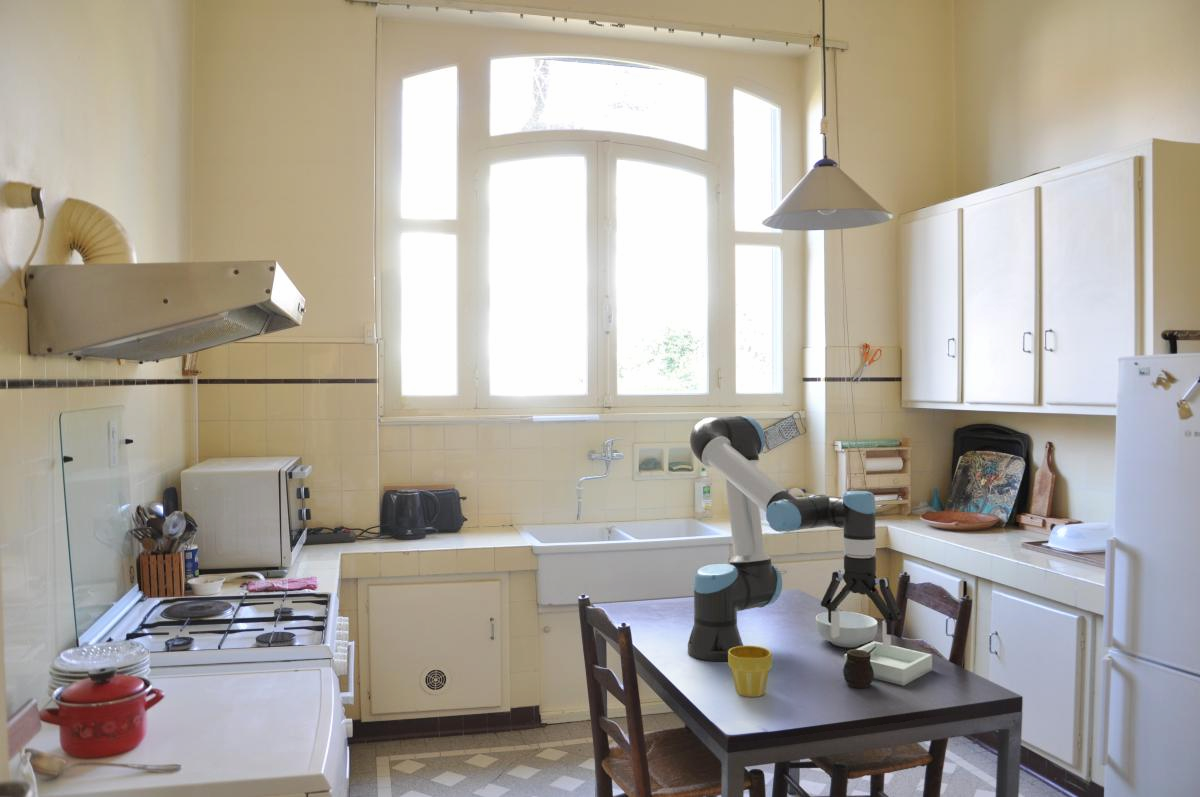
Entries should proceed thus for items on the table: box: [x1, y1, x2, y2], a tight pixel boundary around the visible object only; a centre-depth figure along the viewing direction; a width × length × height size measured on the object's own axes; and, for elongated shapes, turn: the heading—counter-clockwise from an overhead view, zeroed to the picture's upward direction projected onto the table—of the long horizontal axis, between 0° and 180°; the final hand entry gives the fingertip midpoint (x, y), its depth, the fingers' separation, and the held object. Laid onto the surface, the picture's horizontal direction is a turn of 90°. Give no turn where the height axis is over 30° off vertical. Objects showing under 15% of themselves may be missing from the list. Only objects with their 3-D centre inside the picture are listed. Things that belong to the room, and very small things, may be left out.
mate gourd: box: [842, 646, 876, 689], centre depth 209 cm, size 7×8×10 cm
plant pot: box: [727, 645, 773, 698], centre depth 204 cm, size 10×10×10 cm
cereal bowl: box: [815, 610, 878, 648], centre depth 242 cm, size 17×17×7 cm
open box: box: [843, 640, 933, 687], centre depth 219 cm, size 16×16×4 cm
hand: (860, 642), depth 208 cm, fingers open, 13 cm apart
